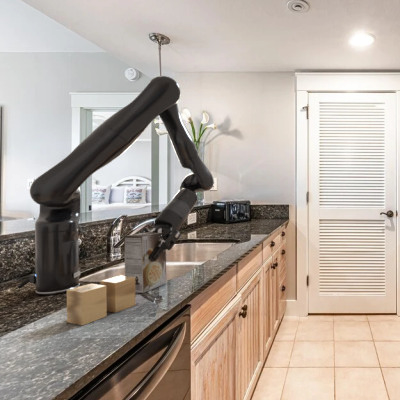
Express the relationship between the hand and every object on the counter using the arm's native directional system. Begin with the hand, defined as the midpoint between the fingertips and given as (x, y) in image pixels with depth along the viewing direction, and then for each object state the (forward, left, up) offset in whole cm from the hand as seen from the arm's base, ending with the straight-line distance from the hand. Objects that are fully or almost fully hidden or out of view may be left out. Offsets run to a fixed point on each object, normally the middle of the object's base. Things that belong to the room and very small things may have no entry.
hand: (141, 259), depth 84 cm
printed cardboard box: (0, +2, -9) cm, 9 cm away
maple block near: (+7, -19, -9) cm, 22 cm away
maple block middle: (+7, -12, -9) cm, 16 cm away
